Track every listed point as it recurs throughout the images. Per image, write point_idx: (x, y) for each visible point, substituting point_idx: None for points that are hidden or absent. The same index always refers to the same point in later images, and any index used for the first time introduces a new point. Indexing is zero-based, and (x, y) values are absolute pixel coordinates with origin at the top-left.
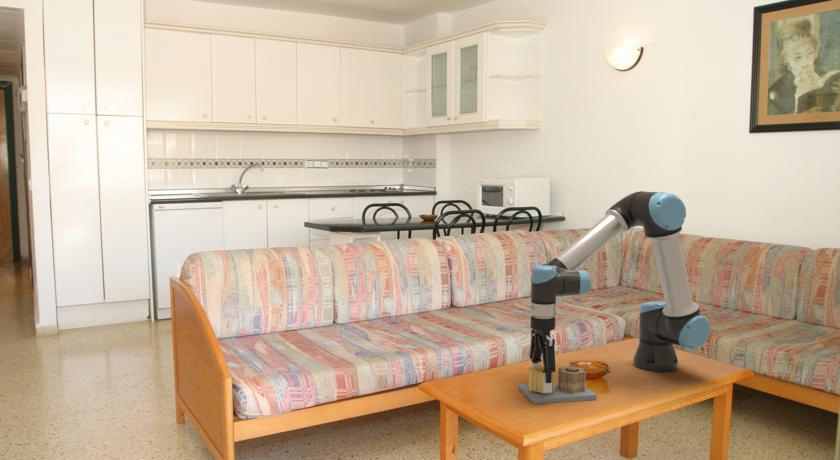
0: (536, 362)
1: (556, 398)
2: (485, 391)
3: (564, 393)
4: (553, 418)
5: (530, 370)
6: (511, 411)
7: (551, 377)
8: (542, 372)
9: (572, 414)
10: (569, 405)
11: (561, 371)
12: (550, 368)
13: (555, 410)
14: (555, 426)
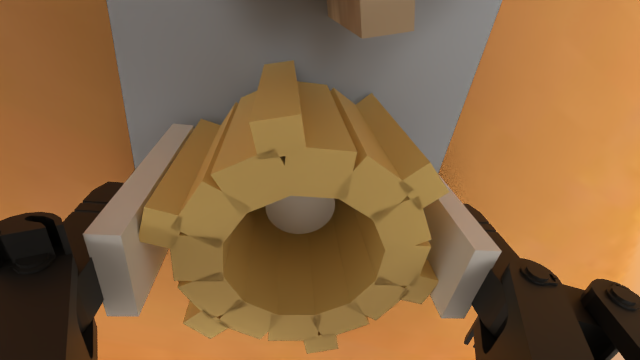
0: (94, 282)
1: (452, 125)
2: (169, 336)
3: (415, 24)
4: (579, 217)
5: (275, 334)
6: (423, 316)
7: (501, 238)
8: (471, 334)
9: (614, 116)
10: (511, 56)
11: (381, 25)
12: (611, 357)
13: (517, 169)
14: (636, 241)
